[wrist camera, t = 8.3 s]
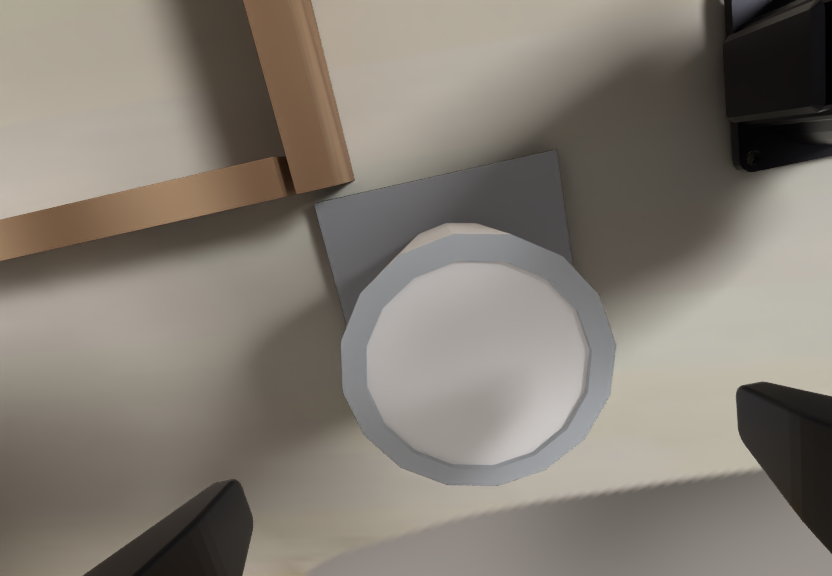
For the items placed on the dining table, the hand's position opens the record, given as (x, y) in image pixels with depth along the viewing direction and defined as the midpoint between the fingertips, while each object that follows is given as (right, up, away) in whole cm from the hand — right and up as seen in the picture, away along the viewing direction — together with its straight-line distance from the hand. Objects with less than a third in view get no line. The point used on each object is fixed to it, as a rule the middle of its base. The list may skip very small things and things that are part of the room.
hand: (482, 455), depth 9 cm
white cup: (0, +3, +10) cm, 11 cm away
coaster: (0, +3, +11) cm, 11 cm away
